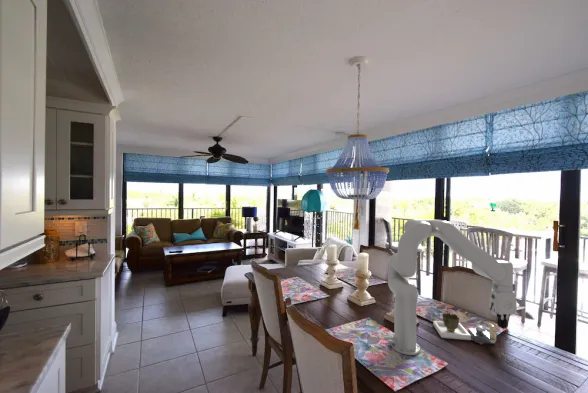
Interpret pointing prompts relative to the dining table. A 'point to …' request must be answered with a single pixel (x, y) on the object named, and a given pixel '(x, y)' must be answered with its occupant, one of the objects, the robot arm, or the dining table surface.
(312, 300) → the dining table surface
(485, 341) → the crank base
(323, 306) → the dining table surface
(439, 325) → the tray
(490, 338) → the crank
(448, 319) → the cup
